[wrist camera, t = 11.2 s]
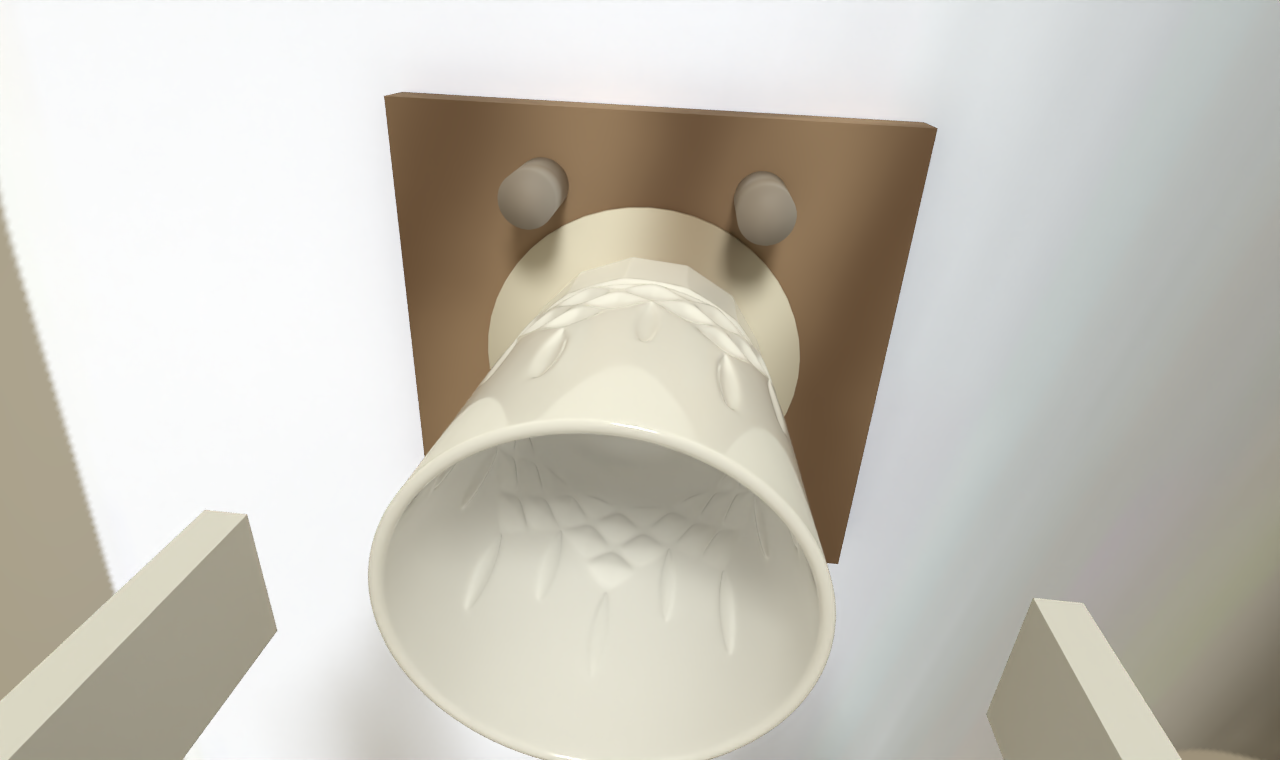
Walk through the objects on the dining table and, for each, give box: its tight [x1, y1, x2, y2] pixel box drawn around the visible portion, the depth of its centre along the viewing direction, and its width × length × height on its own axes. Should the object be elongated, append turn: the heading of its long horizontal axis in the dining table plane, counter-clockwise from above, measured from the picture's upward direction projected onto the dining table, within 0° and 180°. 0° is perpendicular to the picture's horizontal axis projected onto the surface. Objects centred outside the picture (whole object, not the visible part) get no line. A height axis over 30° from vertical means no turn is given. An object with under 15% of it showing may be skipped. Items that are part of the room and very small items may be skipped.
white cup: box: [368, 257, 836, 760], centre depth 16 cm, size 8×8×10 cm
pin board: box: [384, 92, 937, 564], centre depth 20 cm, size 14×14×3 cm
